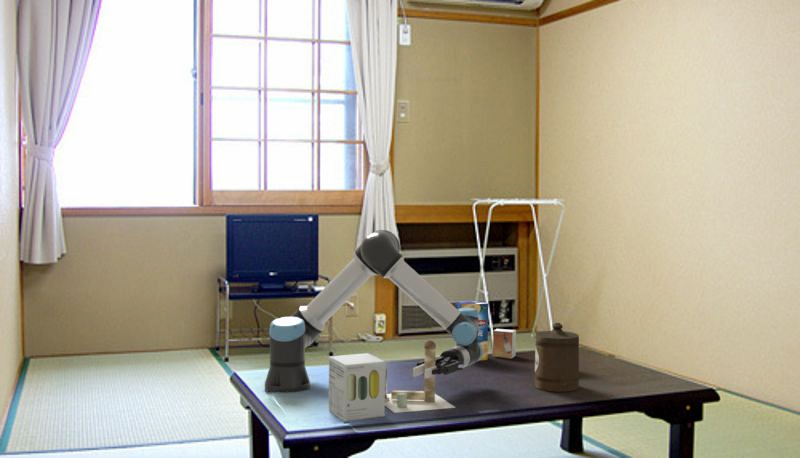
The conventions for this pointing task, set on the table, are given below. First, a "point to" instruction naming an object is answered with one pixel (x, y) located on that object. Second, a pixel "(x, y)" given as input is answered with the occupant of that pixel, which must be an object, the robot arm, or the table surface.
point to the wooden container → (557, 360)
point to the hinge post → (386, 383)
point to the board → (418, 405)
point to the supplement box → (356, 386)
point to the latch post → (401, 400)
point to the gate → (429, 383)
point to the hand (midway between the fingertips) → (419, 373)
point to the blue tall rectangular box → (482, 324)
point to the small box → (504, 343)
